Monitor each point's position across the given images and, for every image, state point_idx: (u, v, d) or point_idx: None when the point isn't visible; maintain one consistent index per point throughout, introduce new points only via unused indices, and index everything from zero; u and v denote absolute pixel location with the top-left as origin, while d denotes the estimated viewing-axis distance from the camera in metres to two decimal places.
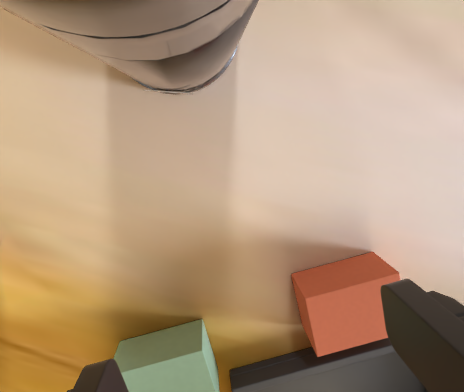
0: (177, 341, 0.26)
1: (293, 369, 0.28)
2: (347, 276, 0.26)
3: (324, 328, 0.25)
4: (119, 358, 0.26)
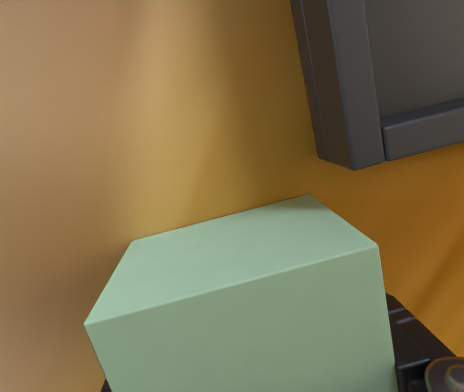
0: None
1: None
2: None
3: None
4: None
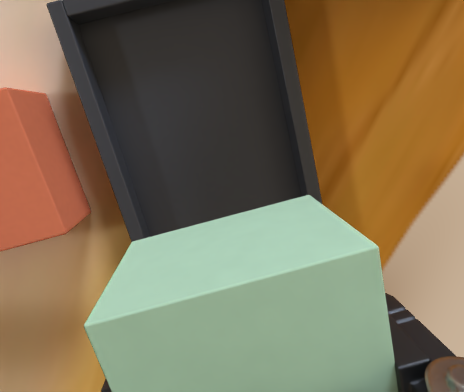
0: None
1: (132, 240, 0.19)
2: None
3: (12, 228, 0.17)
4: None
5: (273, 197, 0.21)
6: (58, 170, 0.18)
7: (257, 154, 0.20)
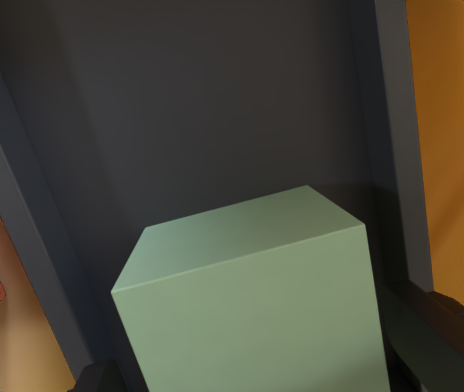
0: None
1: (72, 361, 0.10)
2: None
3: None
4: None
5: None
6: None
7: None
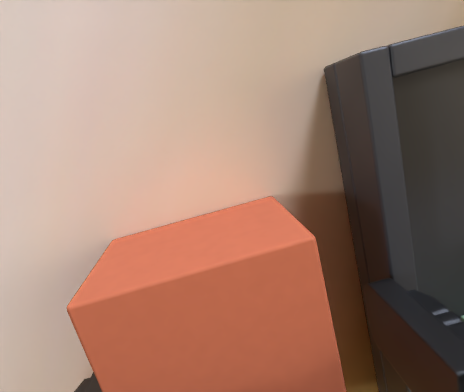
0: None
1: None
2: None
3: None
4: None
5: None
6: None
7: None
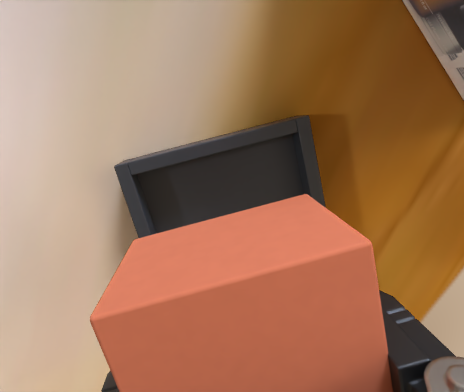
0: None
1: None
2: None
3: None
4: None
5: None
6: None
7: None
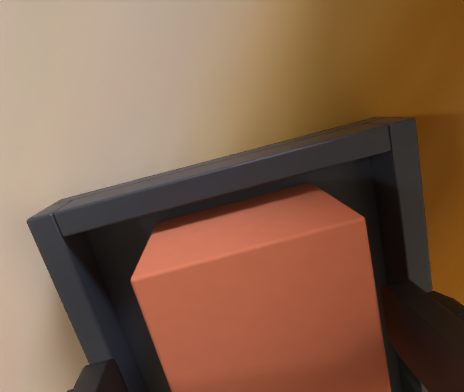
0: None
1: None
2: None
3: None
4: None
5: None
6: None
7: None
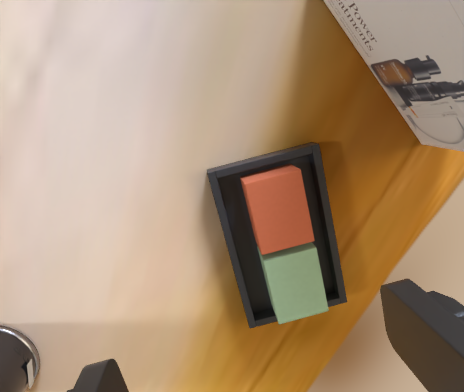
0: (264, 271, 0.35)
1: None
2: (251, 215, 0.32)
3: (289, 238, 0.32)
4: (274, 310, 0.36)
5: None
6: None
7: None
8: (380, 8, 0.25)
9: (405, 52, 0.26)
